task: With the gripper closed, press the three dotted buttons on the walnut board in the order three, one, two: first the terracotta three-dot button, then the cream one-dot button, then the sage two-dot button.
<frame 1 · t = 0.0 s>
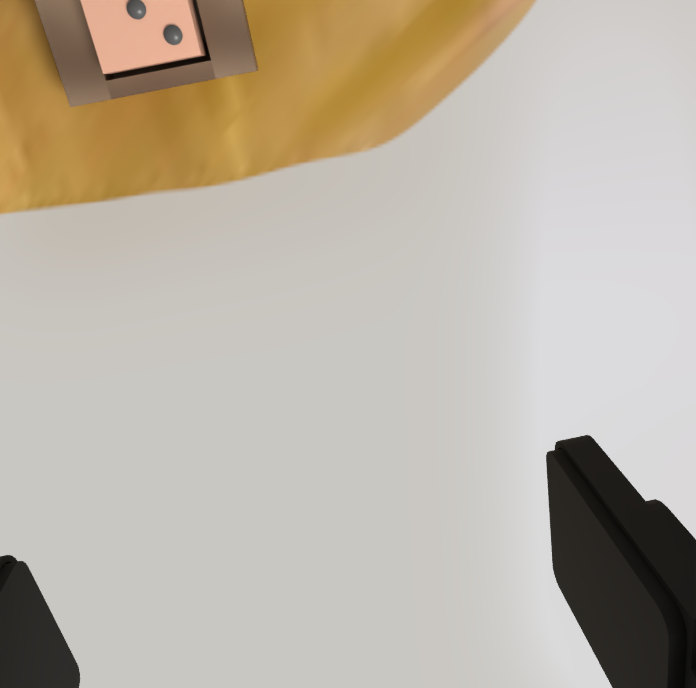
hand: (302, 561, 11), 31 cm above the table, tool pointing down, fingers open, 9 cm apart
button three terracotta: (141, 11, 32), point 3 cm above the table, slide at 0.0 cm
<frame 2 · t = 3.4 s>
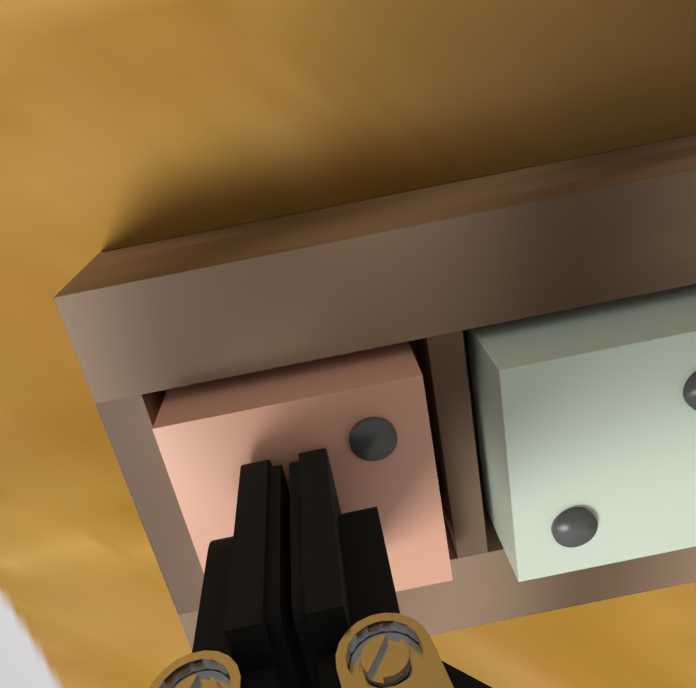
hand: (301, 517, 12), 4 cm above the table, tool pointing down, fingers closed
button board: (552, 364, 16), on the table
button three terracotta: (312, 476, 14), point 3 cm above the table, slide at 0.4 cm, touching gripper
button two sage: (609, 428, 13), point 3 cm above the table, slide at 0.0 cm
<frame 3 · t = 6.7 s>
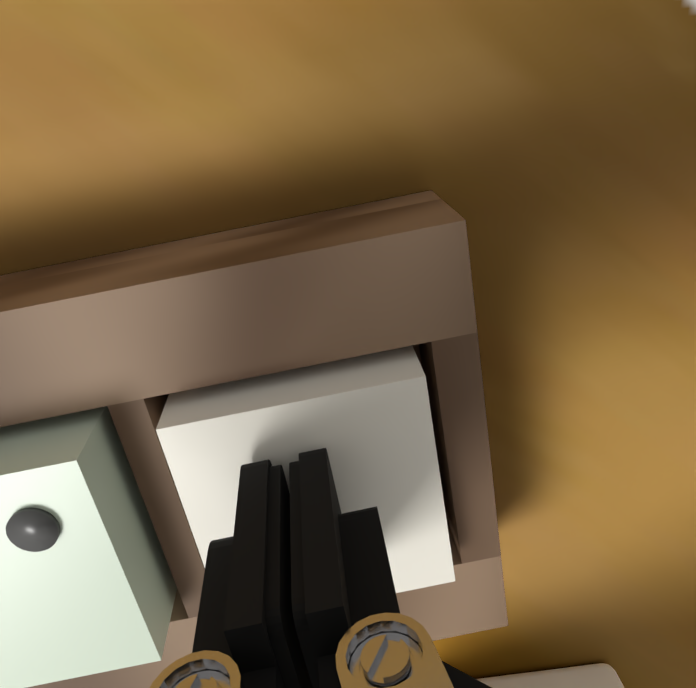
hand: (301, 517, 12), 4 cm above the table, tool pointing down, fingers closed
button board: (66, 465, 16), on the table
button one cream: (315, 477, 14), point 3 cm above the table, slide at 0.5 cm
button two sage: (16, 552, 13), point 3 cm above the table, slide at 0.0 cm
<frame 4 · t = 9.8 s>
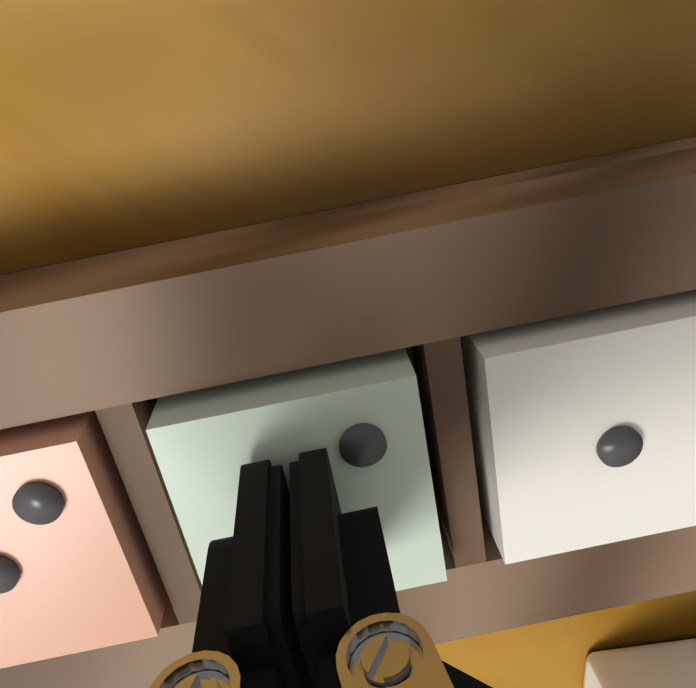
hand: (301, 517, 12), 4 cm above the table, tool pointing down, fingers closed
button board: (304, 419, 16), on the table
button three terracotta: (18, 533, 14), point 2 cm above the table, slide at 0.8 cm
button one cream: (593, 416, 14), point 2 cm above the table, slide at 0.8 cm
button two sage: (307, 477, 14), point 2 cm above the table, slide at 0.7 cm
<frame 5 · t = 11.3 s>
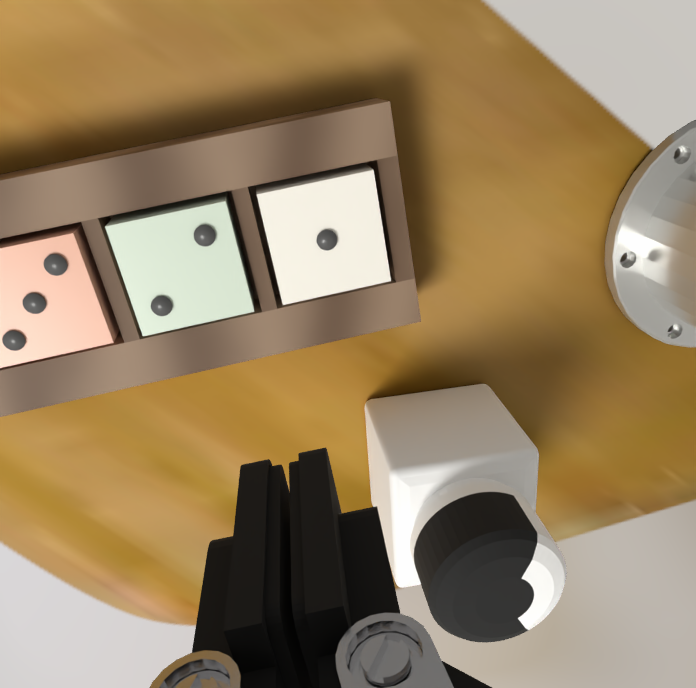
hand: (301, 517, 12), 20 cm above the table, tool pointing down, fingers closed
button board: (189, 249, 30), on the table
button three terracotta: (42, 294, 28), point 2 cm above the table, slide at 0.8 cm
button one cream: (323, 233, 29), point 2 cm above the table, slide at 0.8 cm
button two sage: (185, 263, 28), point 2 cm above the table, slide at 0.8 cm
medicine bottle: (426, 441, 37), on the table
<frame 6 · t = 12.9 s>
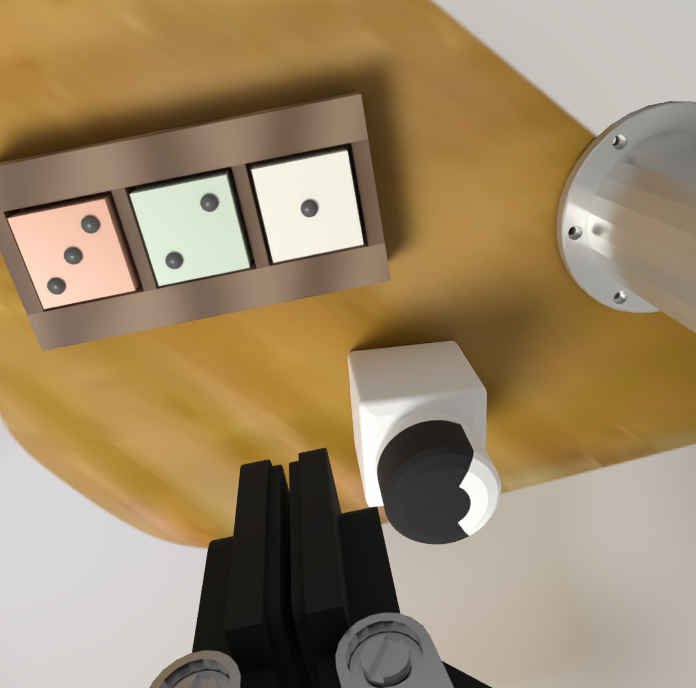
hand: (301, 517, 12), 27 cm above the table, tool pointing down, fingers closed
button board: (199, 217, 37), on the table
button three terracotta: (79, 250, 34), point 2 cm above the table, slide at 0.8 cm
button one cream: (308, 204, 35), point 2 cm above the table, slide at 0.8 cm
button two sage: (194, 227, 35), point 2 cm above the table, slide at 0.8 cm
medicine bottle: (403, 391, 43), on the table
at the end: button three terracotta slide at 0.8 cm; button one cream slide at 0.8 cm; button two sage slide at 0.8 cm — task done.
